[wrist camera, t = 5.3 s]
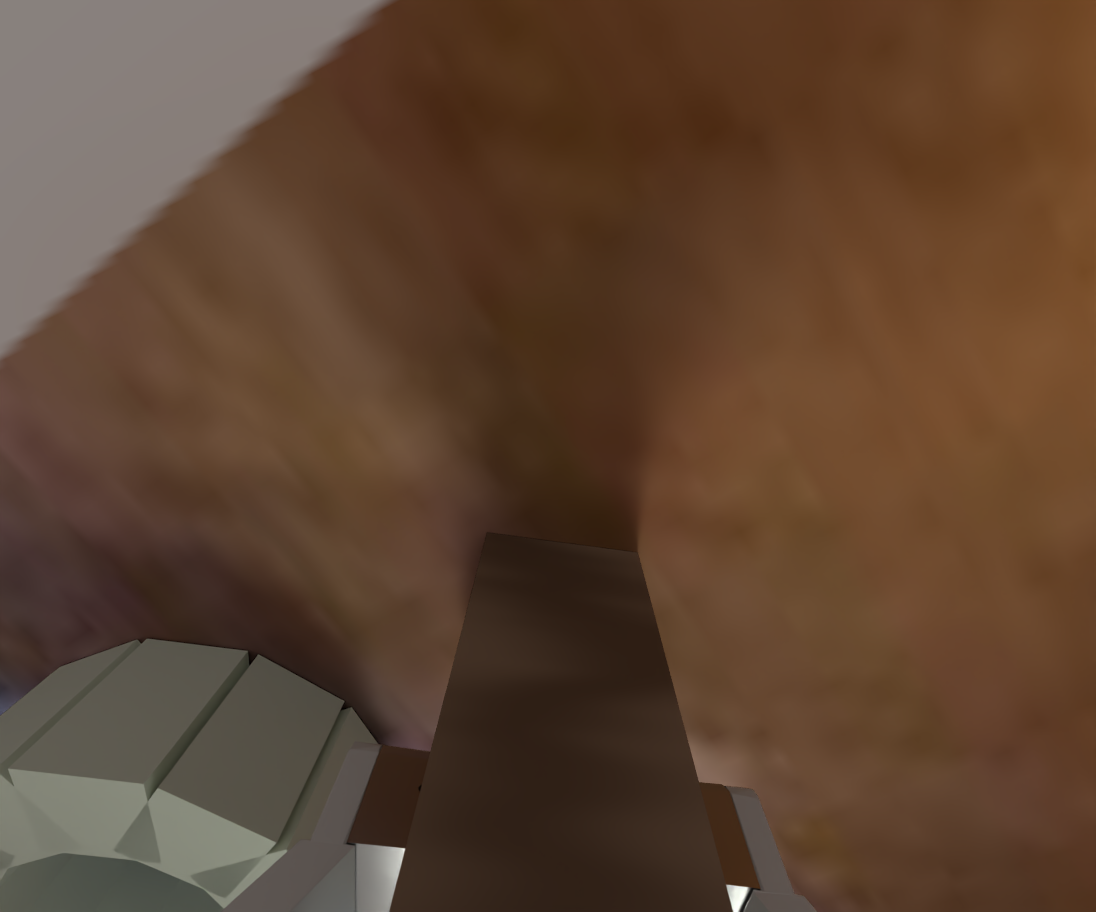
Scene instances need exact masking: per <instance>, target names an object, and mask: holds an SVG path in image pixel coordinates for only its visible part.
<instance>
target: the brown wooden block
mask: <svg viewBox="0 0 1096 912" xmlns="http://www.w3.org/2000/svg"><path fill="white" fill-rule="evenodd" d="M389 912H733V909H732V905H731V902H730V898H729V894H728V890H727V887H726V883H725V879H724V875H723V871H722V868H721V864H720V860H719V856H718V853H717V849H716V845H715V841H714V838H713V834H712V830H711V826H710V823H709V819H708V815H707V811H706V807H705V804H704V800H703V796H702V792H701V789H700V785H699V781H698V777H697V774H696V770H695V766H694V762H693V759H692V755H691V751H690V747H689V743H688V740H687V736H686V732H685V728H684V725H683V721H682V717H681V713H680V710H679V706H678V702H677V698H676V695H675V691H674V687H673V683H672V679H671V676H670V672H669V668H668V664H667V661H666V657H665V653H664V649H663V646H662V642H661V638H660V634H659V631H658V627H657V623H656V619H655V615H654V612H653V608H652V604H651V600H650V597H649V593H648V589H647V585H646V582H645V578H644V574H643V570H642V567H641V563H640V559H639V555H638V553H637V552H629V551H622V550H614V549H607V548H599V547H592V546H584V545H577V544H569V543H562V542H554V541H547V540H539V539H532V538H524V537H517V536H509V535H502V534H495V533H487V535H486V539H485V543H484V546H483V550H482V554H481V558H480V562H479V566H478V570H477V573H476V577H475V581H474V585H473V589H472V593H471V597H470V601H469V604H468V608H467V612H466V616H465V620H464V624H463V628H462V631H461V635H460V639H459V643H458V647H457V651H456V655H455V659H454V662H453V666H452V670H451V674H450V678H449V682H448V686H447V689H446V693H445V697H444V701H443V705H442V709H441V713H440V716H439V720H438V724H437V728H436V732H435V736H434V740H433V744H432V747H431V751H430V755H429V759H428V763H427V767H426V771H425V774H424V778H423V782H422V786H421V790H420V794H419V798H418V801H417V805H416V809H415V813H414V817H413V821H412V825H411V829H410V832H409V836H408V840H407V844H406V848H405V852H404V856H403V859H402V863H401V867H400V871H399V875H398V879H397V883H396V887H395V890H394V894H393V898H392V902H391V906H390V910H389Z"/></svg>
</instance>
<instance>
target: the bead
mask: <svg viewBox="0 0 1096 912" xmlns="http://www.w3.org/2000/svg"><path fill="white" fill-rule="evenodd" d="M344 702H345V701H343V700H341V699H340V698H338V697H336V696H334V695H332V694H330V693H329V692H327V691H325V690H323V689H321V688H319V687H317V686H316V685H314V684H312V683H310V682H308V681H306V680H305V679H303V678H301V677H299V676H297V675H295V674H294V673H292V672H290V671H288V670H286V669H284V668H283V667H281V666H279V665H277V664H275V663H273V662H272V661H270V660H268V659H266V658H264V657H262V656H261V655H259V654H258V655H257V657H256V658H255V659H254V661H253V662H252V663H251V665H250V666H249V656H248V651H244V650H236V649H228V648H220V647H212V646H204V645H196V644H188V643H179V642H171V641H163V640H155V639H146V640H145V641H144V642H143V643H142V644H141V643H140V642H139V641H138V640H134V641H131V642H128V643H126V644H123V645H120V646H117V647H114V648H112V649H109V650H106V651H103V652H100V653H97V654H95V655H92V656H89V657H86V658H83V659H80V660H78V661H75V662H72V663H69V664H66V665H64V666H61V667H59V668H58V669H57V670H55V671H54V672H53V673H51V674H50V675H49V676H48V677H47V678H45V679H44V680H43V681H42V682H41V683H39V684H38V685H37V686H36V687H35V688H33V689H32V690H31V691H30V692H28V693H27V694H26V695H25V696H24V697H22V698H21V699H20V700H19V701H18V702H16V703H15V704H14V705H13V706H11V707H10V708H9V709H8V710H7V711H5V712H4V713H3V714H2V715H1V716H0V912H221V911H222V910H223V909H224V908H225V907H226V906H227V905H229V904H230V903H231V902H232V901H233V900H234V899H235V898H236V897H237V896H239V895H240V894H241V893H242V892H243V891H244V890H245V889H246V888H247V887H249V886H250V885H251V884H252V883H253V882H254V881H255V880H256V879H257V878H259V877H260V876H261V875H262V874H263V873H264V872H265V871H266V870H267V869H269V868H270V867H271V866H272V865H273V864H274V863H275V862H276V861H277V860H279V859H280V858H281V857H282V856H283V855H284V854H285V853H286V852H287V851H289V850H290V849H291V848H292V847H293V846H294V845H295V844H296V843H297V842H299V841H300V840H301V839H306V840H310V839H311V837H312V835H313V832H314V830H315V828H316V825H317V823H318V821H319V818H320V816H321V814H322V811H323V809H324V807H325V804H326V802H327V800H328V797H329V795H330V792H331V790H332V788H333V785H334V783H335V781H336V778H337V776H338V774H339V771H340V769H341V767H342V764H343V762H344V760H345V757H346V755H347V753H348V751H349V749H350V748H351V746H352V745H353V743H354V742H355V741H356V742H364V743H373V744H378V743H377V742H376V740H375V739H374V737H373V736H372V735H371V733H370V732H369V731H368V729H367V728H366V726H365V725H364V724H363V722H362V721H361V719H360V718H359V717H358V715H357V714H356V713H355V711H354V710H353V708H352V707H351V708H348V709H345V710H341V708H342V706H343V704H344ZM340 710H341V711H340Z"/></svg>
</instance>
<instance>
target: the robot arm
mask: <svg viewBox="0 0 1096 912" xmlns="http://www.w3.org/2000/svg"><path fill="white" fill-rule="evenodd" d="M429 755H430V752H429V751H422V750H415V749H408V748H401V747H394V746H387V745H381V744H373V743H364V742H356V741H355V742H354V743H353V745H352V746H351V748H350V749H349V751H348V753H347V755H346V757H345V760H344V762H343V764H342V767H341V769H340V771H339V774H338V776H337V778H336V781H335V783H334V785H333V788H332V790H331V792H330V795H329V797H328V800H327V802H326V804H325V807H324V809H323V811H322V814H321V816H320V818H319V821H318V823H317V825H316V828H315V830H314V832H313V835H312V837H311V839H310V840H306V839H301V840H300V841H299V842H297V843H296V844H295V845H294V846H293V847H292V848H291V849H290V850H289V851H287V852H286V853H285V854H284V855H283V856H282V857H281V858H280V859H279V860H277V861H276V862H275V863H274V864H273V865H272V866H271V867H270V868H269V869H267V870H266V871H265V872H264V873H263V874H262V875H261V876H260V877H259V878H257V879H256V880H255V881H254V882H253V883H252V884H251V885H250V886H249V887H247V888H246V889H245V890H244V891H243V892H242V893H241V894H240V895H239V896H237V897H236V898H235V899H234V900H233V901H232V902H231V903H230V904H229V905H227V906H226V907H225V908H224V909H223V910H222V911H221V912H389V910H390V906H391V902H392V898H393V894H394V890H395V887H396V883H397V879H398V875H399V871H400V867H401V863H402V859H403V856H404V852H405V848H406V844H407V840H408V836H409V832H410V829H411V825H412V821H413V817H414V813H415V809H416V805H417V801H418V798H419V794H420V790H421V786H422V782H423V778H424V774H425V771H426V767H427V763H428V759H429ZM699 785H700V789H701V792H702V796H703V800H704V804H705V807H706V811H707V815H708V819H709V823H710V826H711V830H712V834H713V838H714V841H715V845H716V849H717V853H718V856H719V860H720V864H721V868H722V871H723V875H724V879H725V883H726V887H727V890H728V894H729V898H730V902H731V905H732V909H733V912H817V910H816V909H815V908H814V907H813V906H812V905H811V904H810V902H809V901H808V900H807V899H806V898H805V897H804V896H803V895H797V894H795V893H794V891H793V888H792V886H791V883H790V880H789V878H788V875H787V872H786V870H785V867H784V864H783V862H782V859H781V856H780V854H779V851H778V848H777V846H776V843H775V840H774V838H773V835H772V832H771V830H770V827H769V824H768V822H767V819H766V816H765V814H764V811H763V808H762V806H761V803H760V800H759V798H758V795H757V794H756V793H755V792H754V790H753V789H749V788H741V787H731V786H723V785H722V784H712V783H702V782H699Z"/></svg>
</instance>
